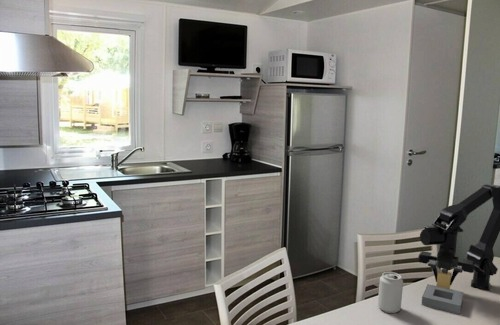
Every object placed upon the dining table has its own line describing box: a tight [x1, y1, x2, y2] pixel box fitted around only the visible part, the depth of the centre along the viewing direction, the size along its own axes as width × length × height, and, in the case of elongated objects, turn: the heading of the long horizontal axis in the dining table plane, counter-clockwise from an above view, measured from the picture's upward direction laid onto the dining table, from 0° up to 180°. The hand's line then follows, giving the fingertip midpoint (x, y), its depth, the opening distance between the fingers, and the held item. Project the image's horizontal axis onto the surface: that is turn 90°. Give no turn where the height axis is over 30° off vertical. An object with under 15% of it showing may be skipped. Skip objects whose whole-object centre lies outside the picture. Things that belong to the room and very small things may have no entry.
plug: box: [435, 268, 453, 289], centre depth 164 cm, size 4×4×8 cm
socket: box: [421, 283, 464, 315], centre depth 155 cm, size 12×12×3 cm
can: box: [377, 271, 404, 314], centre depth 148 cm, size 8×8×12 cm
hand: (443, 283), depth 164 cm, fingers closed on plug, 4 cm apart
